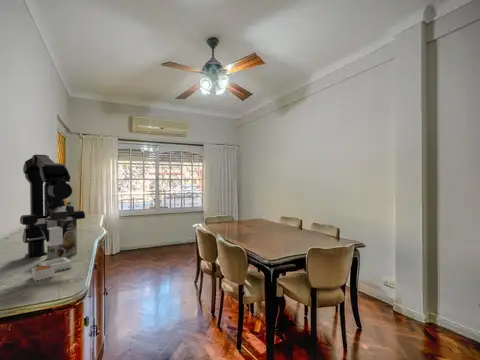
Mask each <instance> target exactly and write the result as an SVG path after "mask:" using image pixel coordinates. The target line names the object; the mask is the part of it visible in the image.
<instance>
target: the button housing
mask: <svg viewBox="0 0 480 360" xmlns="http://www.w3.org/2000/svg"><path fill="white" fill-rule="evenodd" d="M48 266H49V268H48V269H43V270H38V271H37V267H38V266H36V267H32V268H31V278H32V279H33V280H34V282H38V281H42V280H45V278H46V279H49V277H51V278H54V276H55V275H56V274H55V272H56V271H55V270H54V267H53V266H52V265H51V264H50V265H48ZM41 279H42V280H41ZM37 280H38V281H37Z"/></svg>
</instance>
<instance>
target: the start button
mask: <svg viewBox="0 0 480 360" xmlns="http://www.w3.org/2000/svg"><path fill="white" fill-rule="evenodd" d="M36 267H37V271H38V270H43V269H48V268H49V266H48V265H44V266H39V265H38V266H36Z"/></svg>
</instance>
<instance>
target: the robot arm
mask: <svg viewBox="0 0 480 360" xmlns="http://www.w3.org/2000/svg"><path fill="white" fill-rule="evenodd" d="M22 170H23V175H24V177H25V179H26V180H27V182H28V183H29V197H30V198H29V199H30V202H29V204H30V211H29V212H30V213H29V214H23V215H20V217H19V224H21V225H23V226H25V228H23V234H22V242H23V243H24V244H27V253H25V256H26V257H27V258H34V257H39V256H47V252H46V251H45V241H46V243H47V242H48V240H49V237H48V230H47V220H53V221H56V220H60V219H63V220H61V227H62V228H63V237H64V235H65V232H66V229H67V227H68V226H69V224H70V223H71V222H74V220H73V218H75V219H77V220H82V219H85V218H86V213H85V212H84V211H83V210H77V209H76V210H75V208H74V207H75V206H74V205H73V204H66V205H65V199H68V198H70V196H71V195H72V193H73V189H72V186H71V185H70V184H69V183H70V181H71V176H70V172H69V170H68V168H67V167H66V165H65V164H64V163H61V162H60V163H59V162H54V161H53V160H52V159H51V158H50V157H49V155H47V154H37V153H36V154H33V155H32V157H31V158H29V159H27V160H25V161H24V164H23V168H22Z"/></svg>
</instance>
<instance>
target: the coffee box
mask: <svg viewBox="0 0 480 360" xmlns="http://www.w3.org/2000/svg"><path fill="white" fill-rule="evenodd" d="M61 220H63V219H60V220H56V221H53V220H46V221H47V228H53V227H61ZM73 220H74V222H71V223H70V224H69V226H68V227H67V229H66V232H65V235H64V237H63V244H61V245H55V246H48V245H47V244H46V245H47V246H46V251H47V252H46V253H47V254H46V258H47V259H48V260H52V259H57V258H62V257H65V258H68V257H71V256H73V255H76V254H77V253H78V239H77V238H78V236H77V235H78V233H77V232H78V231H77V230H78V228H77V227H78V226H77V223H78V222H77V220H78V219H75V218H73Z"/></svg>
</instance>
